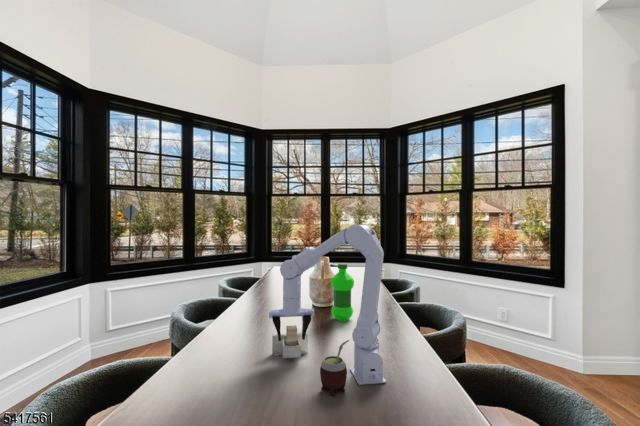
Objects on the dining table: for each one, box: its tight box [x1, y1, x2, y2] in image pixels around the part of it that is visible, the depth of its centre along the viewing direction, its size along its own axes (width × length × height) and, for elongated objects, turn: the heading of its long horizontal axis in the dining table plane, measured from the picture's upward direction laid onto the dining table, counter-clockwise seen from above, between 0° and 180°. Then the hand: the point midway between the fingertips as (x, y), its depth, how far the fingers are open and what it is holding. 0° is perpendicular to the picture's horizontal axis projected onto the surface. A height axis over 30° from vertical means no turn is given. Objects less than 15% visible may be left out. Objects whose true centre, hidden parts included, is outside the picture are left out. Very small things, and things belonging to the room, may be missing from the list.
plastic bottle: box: [330, 263, 355, 322], centre depth 145 cm, size 10×10×25 cm
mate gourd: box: [319, 339, 350, 398], centre depth 85 cm, size 8×8×15 cm
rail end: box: [285, 324, 298, 346], centre depth 103 cm, size 3×3×8 cm
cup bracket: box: [271, 332, 309, 359], centre depth 104 cm, size 8×12×6 cm
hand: (291, 339), depth 103 cm, fingers open, 7 cm apart
